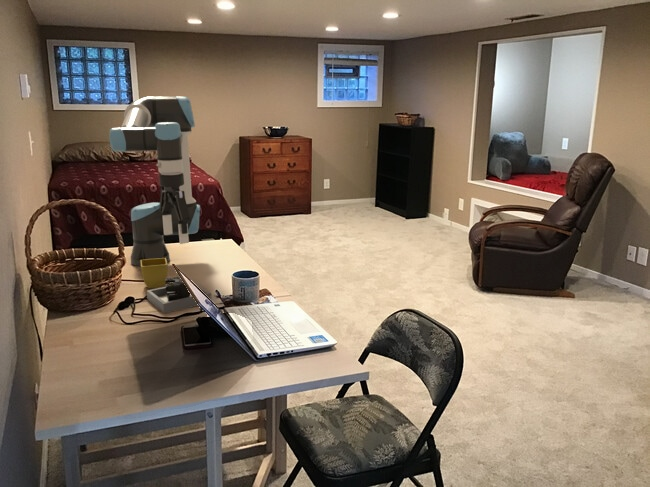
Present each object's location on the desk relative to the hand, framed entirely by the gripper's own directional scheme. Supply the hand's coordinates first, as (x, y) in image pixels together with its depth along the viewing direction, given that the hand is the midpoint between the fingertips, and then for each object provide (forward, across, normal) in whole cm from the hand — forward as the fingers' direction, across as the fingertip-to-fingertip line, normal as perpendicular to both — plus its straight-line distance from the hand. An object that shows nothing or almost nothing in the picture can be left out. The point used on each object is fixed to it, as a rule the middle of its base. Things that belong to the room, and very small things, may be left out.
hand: (176, 238), depth 183 cm
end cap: (+20, +1, -1) cm, 20 cm away
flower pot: (+21, -18, -2) cm, 28 cm away
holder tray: (+21, +1, -1) cm, 21 cm away
